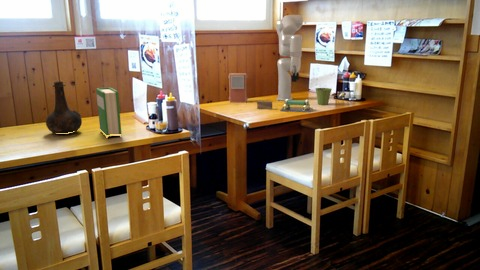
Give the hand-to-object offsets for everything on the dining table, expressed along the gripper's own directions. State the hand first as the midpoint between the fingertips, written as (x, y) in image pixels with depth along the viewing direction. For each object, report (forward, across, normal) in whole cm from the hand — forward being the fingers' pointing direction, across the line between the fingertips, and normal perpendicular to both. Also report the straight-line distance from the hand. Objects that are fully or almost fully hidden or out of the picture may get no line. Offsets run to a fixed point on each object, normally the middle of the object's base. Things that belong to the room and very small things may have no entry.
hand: (295, 80), depth 282 cm
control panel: (+21, -20, -46) cm, 54 cm away
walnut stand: (+20, +3, -20) cm, 28 cm away
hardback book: (+18, +92, -84) cm, 126 cm away
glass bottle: (+18, +95, -110) cm, 146 cm away
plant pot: (+20, -23, +17) cm, 35 cm away
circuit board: (+16, +3, +2) cm, 16 cm away
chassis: (+20, +3, +2) cm, 20 cm away
